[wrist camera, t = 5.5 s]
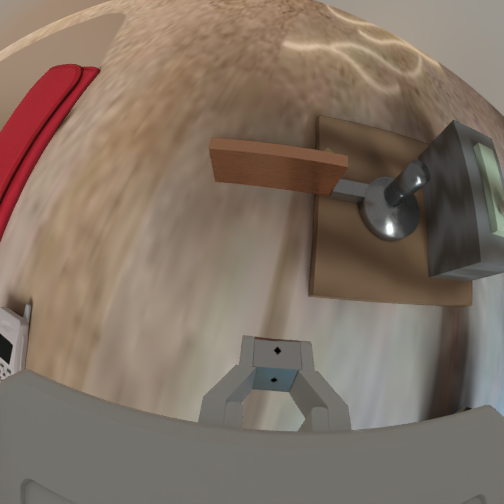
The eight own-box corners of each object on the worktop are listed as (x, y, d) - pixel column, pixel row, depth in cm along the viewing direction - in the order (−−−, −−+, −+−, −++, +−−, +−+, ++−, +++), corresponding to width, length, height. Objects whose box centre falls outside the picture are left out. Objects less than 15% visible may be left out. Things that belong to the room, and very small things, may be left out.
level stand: (315, 124, 34) (343, 45, 21) (448, 160, 34) (500, 112, 21) (308, 296, 29) (360, 278, 16) (462, 306, 29) (541, 294, 16)
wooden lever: (219, 158, 30) (214, 114, 22) (409, 189, 30) (443, 160, 22) (208, 218, 28) (197, 184, 21) (413, 245, 28) (454, 225, 21)
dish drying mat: (103, 73, 37) (96, 59, 33) (-13, 294, 28) (-29, 290, 24) (53, 73, 38) (45, 62, 34) (-46, 257, 29) (-59, 252, 25)
